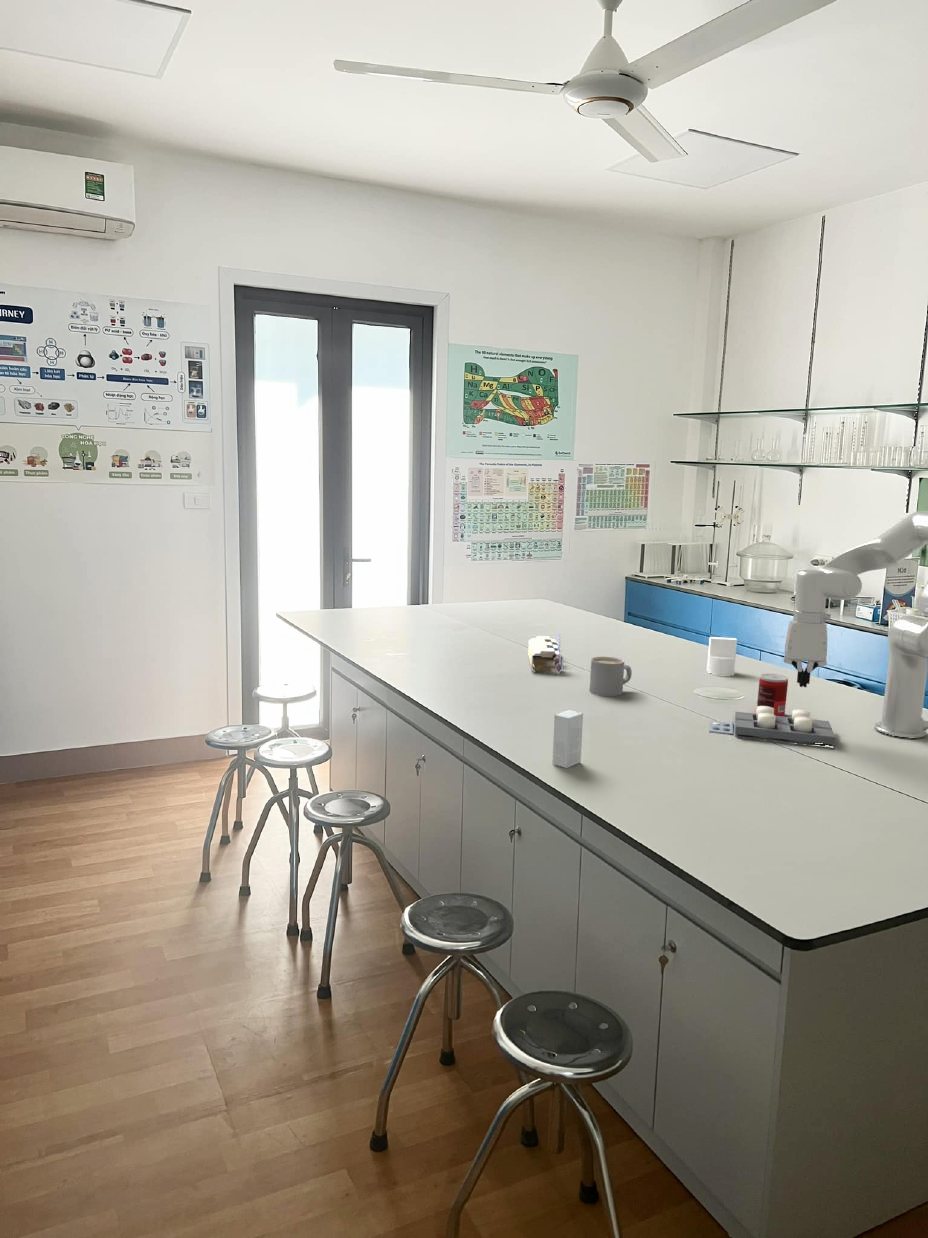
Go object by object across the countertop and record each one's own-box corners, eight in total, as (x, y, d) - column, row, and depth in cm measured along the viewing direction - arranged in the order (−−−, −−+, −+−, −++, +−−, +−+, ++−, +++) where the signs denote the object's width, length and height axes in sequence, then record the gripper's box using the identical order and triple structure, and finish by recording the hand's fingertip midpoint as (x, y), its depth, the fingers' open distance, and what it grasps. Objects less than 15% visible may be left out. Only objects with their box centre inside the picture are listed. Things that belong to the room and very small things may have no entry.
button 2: (774, 724, 237) (775, 713, 237) (775, 729, 233) (776, 718, 232) (756, 723, 238) (757, 712, 238) (757, 727, 234) (758, 716, 234)
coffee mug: (595, 696, 270) (597, 664, 269) (585, 688, 280) (586, 656, 278) (638, 695, 273) (640, 663, 271) (625, 687, 283) (628, 656, 281)
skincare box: (565, 758, 213) (568, 709, 211) (581, 762, 211) (584, 713, 209) (551, 764, 209) (553, 714, 207) (566, 769, 206) (569, 718, 204)
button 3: (808, 721, 242) (809, 710, 241) (809, 725, 237) (810, 714, 237) (790, 719, 243) (791, 708, 242) (791, 724, 239) (793, 713, 238)
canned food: (783, 712, 261) (787, 674, 259) (785, 719, 253) (789, 681, 251) (755, 709, 263) (759, 672, 261) (756, 716, 255) (760, 678, 253)
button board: (827, 732, 242) (828, 721, 242) (834, 748, 228) (835, 737, 228) (709, 719, 250) (710, 709, 250) (709, 734, 236) (710, 723, 236)
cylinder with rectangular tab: (731, 670, 311) (734, 636, 309) (736, 676, 302) (739, 641, 300) (704, 669, 312) (707, 635, 310) (708, 675, 303) (711, 640, 301)
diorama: (562, 674, 298) (564, 635, 296) (531, 673, 298) (532, 634, 296) (556, 658, 322) (558, 622, 320) (527, 657, 323) (529, 621, 320)
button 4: (810, 728, 235) (811, 717, 234) (812, 733, 231) (813, 722, 230) (792, 726, 236) (793, 715, 235) (793, 731, 232) (795, 720, 231)
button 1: (772, 717, 244) (773, 707, 243) (773, 722, 240) (774, 711, 239) (755, 715, 245) (756, 705, 245) (756, 720, 241) (757, 709, 240)
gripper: (837, 617, 237) (831, 685, 240) (777, 613, 241) (772, 680, 244) (841, 621, 230) (834, 692, 233) (779, 618, 234) (773, 687, 237)
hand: (802, 685), depth 238 cm, fingers closed
